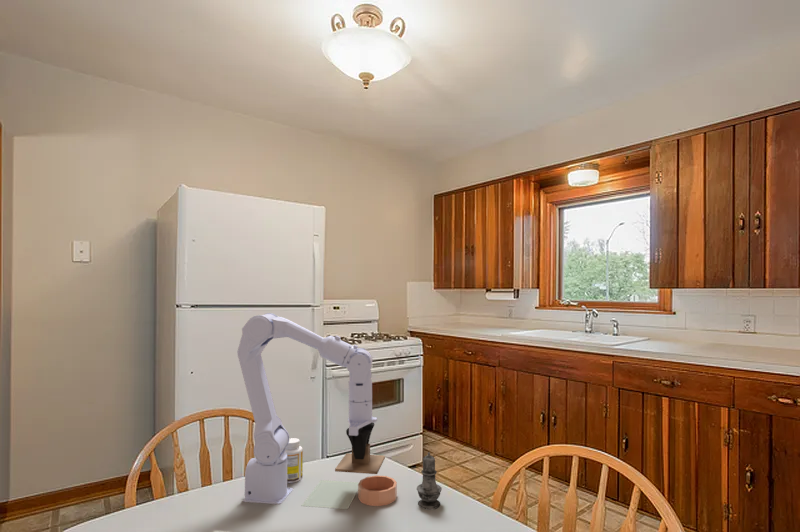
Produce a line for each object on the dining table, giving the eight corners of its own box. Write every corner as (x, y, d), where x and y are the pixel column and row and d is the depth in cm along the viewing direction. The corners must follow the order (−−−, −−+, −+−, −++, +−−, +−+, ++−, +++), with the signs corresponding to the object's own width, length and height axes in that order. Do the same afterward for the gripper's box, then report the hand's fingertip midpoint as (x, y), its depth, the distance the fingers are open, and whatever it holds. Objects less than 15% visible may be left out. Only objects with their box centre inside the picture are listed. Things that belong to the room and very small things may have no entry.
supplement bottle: (292, 473, 124) (292, 435, 124) (306, 478, 120) (307, 439, 121) (276, 481, 119) (276, 441, 119) (290, 486, 116) (291, 445, 116)
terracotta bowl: (354, 505, 105) (354, 490, 105) (363, 488, 114) (363, 474, 114) (392, 508, 104) (392, 493, 104) (399, 491, 113) (398, 476, 113)
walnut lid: (335, 471, 106) (335, 451, 106) (346, 455, 116) (346, 437, 116) (377, 474, 105) (377, 453, 105) (385, 458, 114) (385, 439, 115)
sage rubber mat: (301, 507, 105) (301, 505, 105) (320, 481, 118) (320, 480, 119) (347, 510, 103) (347, 509, 103) (362, 484, 117) (362, 482, 117)
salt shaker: (440, 511, 103) (439, 457, 103) (414, 508, 104) (414, 455, 104) (443, 499, 108) (442, 448, 109) (418, 497, 110) (418, 446, 110)
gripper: (370, 408, 103) (370, 469, 103) (382, 393, 118) (382, 446, 117) (340, 407, 104) (340, 467, 104) (355, 392, 119) (355, 445, 118)
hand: (360, 456), depth 110 cm, fingers closed on walnut lid, 2 cm apart
